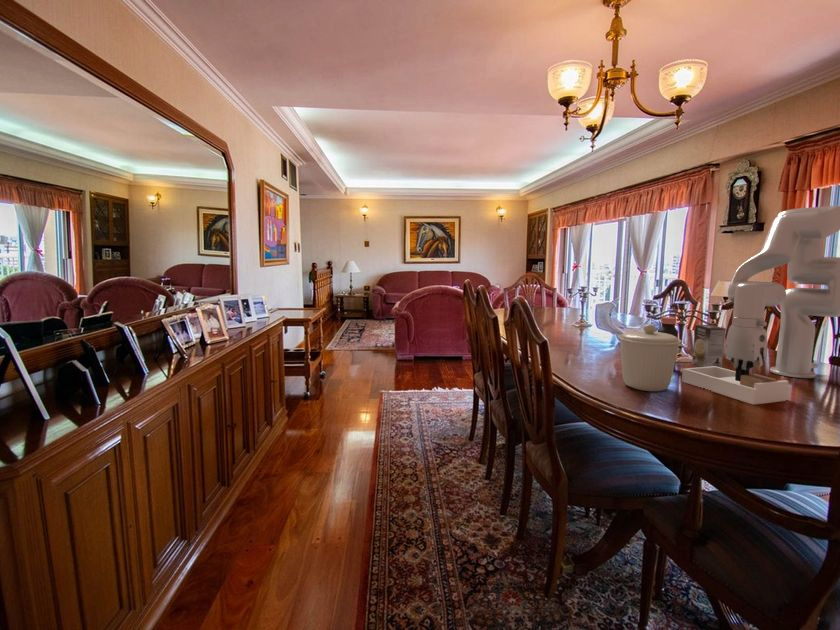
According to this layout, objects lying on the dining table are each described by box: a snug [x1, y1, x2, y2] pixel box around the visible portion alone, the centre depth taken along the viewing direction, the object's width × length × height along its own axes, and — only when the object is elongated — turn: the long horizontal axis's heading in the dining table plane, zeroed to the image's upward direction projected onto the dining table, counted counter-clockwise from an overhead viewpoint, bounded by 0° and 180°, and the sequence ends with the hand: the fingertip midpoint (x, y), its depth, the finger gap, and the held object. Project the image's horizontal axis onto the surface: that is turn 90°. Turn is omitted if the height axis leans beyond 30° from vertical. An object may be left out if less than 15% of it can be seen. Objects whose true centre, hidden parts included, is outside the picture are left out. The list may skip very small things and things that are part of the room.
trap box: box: [681, 366, 791, 405], centre depth 133 cm, size 14×24×6 cm, turn 15°
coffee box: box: [691, 324, 727, 368], centre depth 162 cm, size 9×6×16 cm
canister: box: [617, 323, 683, 392], centre depth 135 cm, size 18×18×21 cm
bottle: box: [657, 316, 679, 372], centre depth 158 cm, size 7×7×20 cm
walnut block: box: [740, 373, 778, 388], centre depth 125 cm, size 6×6×4 cm
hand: (741, 380), depth 130 cm, fingers closed
